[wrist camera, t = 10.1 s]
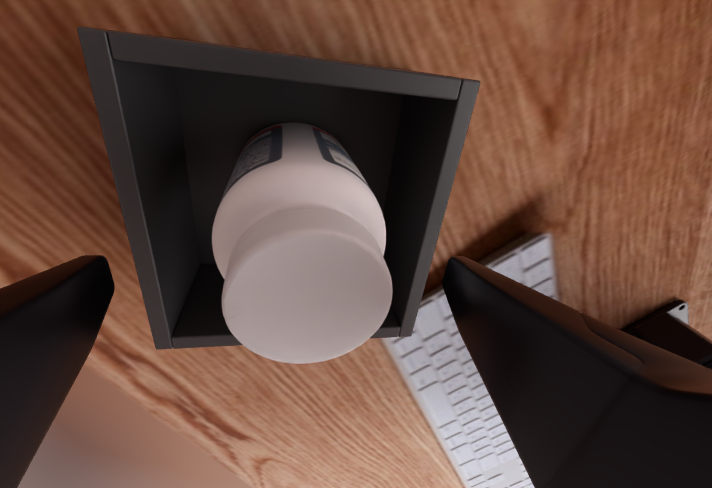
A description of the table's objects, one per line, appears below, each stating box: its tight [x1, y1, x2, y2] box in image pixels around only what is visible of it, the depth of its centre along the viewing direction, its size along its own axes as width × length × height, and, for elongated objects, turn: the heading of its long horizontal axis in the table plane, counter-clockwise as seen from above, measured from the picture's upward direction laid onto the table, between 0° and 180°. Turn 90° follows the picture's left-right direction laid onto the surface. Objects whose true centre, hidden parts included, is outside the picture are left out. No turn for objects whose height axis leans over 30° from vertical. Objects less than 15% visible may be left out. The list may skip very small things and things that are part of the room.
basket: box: [77, 27, 480, 349], centre depth 13 cm, size 10×10×6 cm
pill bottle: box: [212, 122, 393, 364], centre depth 11 cm, size 5×5×9 cm
